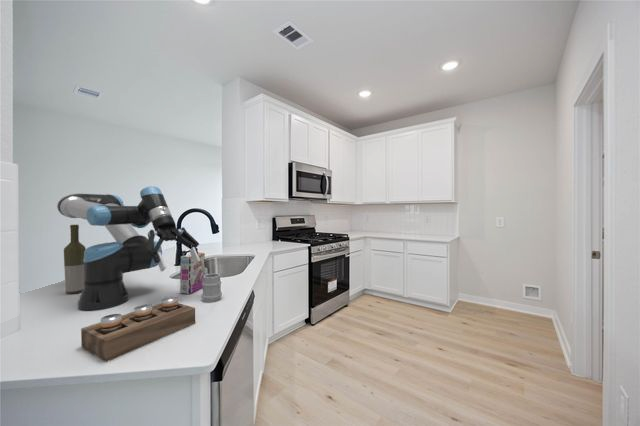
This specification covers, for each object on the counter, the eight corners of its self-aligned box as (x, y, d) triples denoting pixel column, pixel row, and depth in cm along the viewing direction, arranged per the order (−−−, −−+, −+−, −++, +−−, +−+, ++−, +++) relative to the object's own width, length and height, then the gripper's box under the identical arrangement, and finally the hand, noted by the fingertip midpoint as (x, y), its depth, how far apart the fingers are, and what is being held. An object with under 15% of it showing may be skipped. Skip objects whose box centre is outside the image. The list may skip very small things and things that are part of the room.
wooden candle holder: (81, 346, 70) (81, 328, 69) (169, 314, 91) (169, 300, 90) (106, 361, 63) (105, 341, 63) (195, 323, 84) (195, 307, 84)
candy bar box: (190, 294, 111) (190, 257, 111) (179, 294, 112) (179, 256, 112) (205, 286, 122) (205, 252, 122) (195, 286, 123) (195, 252, 123)
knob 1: (97, 337, 69) (97, 318, 69) (117, 330, 73) (117, 312, 73) (105, 341, 67) (105, 322, 66) (125, 333, 71) (125, 315, 70)
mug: (206, 304, 101) (206, 273, 100) (194, 297, 108) (194, 268, 108) (225, 299, 106) (225, 270, 106) (212, 292, 114) (211, 265, 114)
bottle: (63, 292, 114) (62, 224, 113) (84, 288, 119) (83, 224, 119) (65, 296, 109) (64, 225, 109) (87, 292, 115) (86, 224, 114)
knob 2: (131, 325, 76) (130, 308, 76) (147, 319, 80) (147, 303, 80) (139, 328, 74) (139, 311, 74) (155, 322, 78) (155, 306, 77)
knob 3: (159, 315, 83) (158, 299, 83) (172, 310, 87) (172, 295, 87) (167, 318, 81) (167, 302, 81) (181, 313, 85) (180, 297, 84)
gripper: (131, 215, 92) (151, 267, 86) (195, 214, 114) (214, 255, 108) (123, 227, 95) (142, 278, 89) (186, 223, 117) (205, 264, 111)
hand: (181, 265), depth 99 cm, fingers open, 13 cm apart
